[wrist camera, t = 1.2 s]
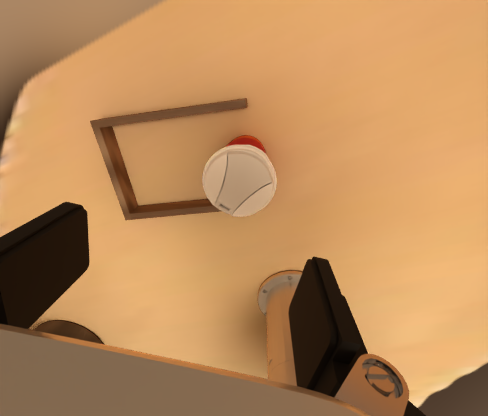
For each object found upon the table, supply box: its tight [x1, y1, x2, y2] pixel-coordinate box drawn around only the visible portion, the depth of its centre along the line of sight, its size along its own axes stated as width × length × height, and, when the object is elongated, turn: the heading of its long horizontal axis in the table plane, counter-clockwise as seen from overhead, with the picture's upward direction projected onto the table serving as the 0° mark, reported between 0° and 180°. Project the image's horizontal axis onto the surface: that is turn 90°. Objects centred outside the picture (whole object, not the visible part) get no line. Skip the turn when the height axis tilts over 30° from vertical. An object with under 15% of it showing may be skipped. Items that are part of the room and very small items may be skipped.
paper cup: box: [202, 135, 277, 217], centre depth 31 cm, size 8×8×14 cm
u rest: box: [90, 98, 247, 220], centre depth 37 cm, size 15×21×3 cm
